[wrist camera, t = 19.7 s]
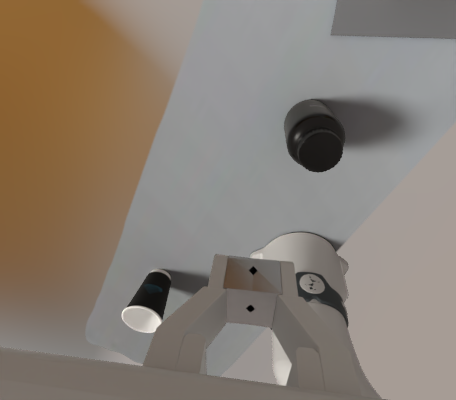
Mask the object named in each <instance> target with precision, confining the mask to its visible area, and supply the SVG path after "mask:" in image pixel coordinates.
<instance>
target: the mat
mask: <svg viewBox="0 0 456 400" xmlns="http://www.w3.org/2000/svg"><path fill="white" fill-rule="evenodd" d="M331 35H343V36H378V37H413V38H447V39H456V0H337V5H336V11H335V16H334V21H333V26H332V32H331Z"/></svg>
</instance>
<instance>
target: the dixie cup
mask: <svg viewBox="0 0 456 400" xmlns="http://www.w3.org/2000/svg"><path fill="white" fill-rule="evenodd" d="M170 285H171V276H170V275H169V273H168V272H166V271H164V270H162V269H155V270H152V271H151V273H149V274H148V276H147V277H146V279H145V280H144V282H143V283H142V285H141V286H140V288H139V290H138V291H137V293H136V294H135V296H134V297H133V299H132V300H131V302H130V303H129V305H128V306H127V308H125V309H124V310H123V312H122V319H123V321H124V322H125V323H126V324H127V325H128V326H129V327H131V328H132V329H134V330H137V331H140V332H145V333H152V332H155V331H156V328H157V327H158V326H159V325H160V324H161V323H163V322H162V319H163V314H164V310H165V306H166V302H167V297H168V293H169V289H170Z"/></svg>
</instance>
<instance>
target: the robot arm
mask: <svg viewBox="0 0 456 400" xmlns="http://www.w3.org/2000/svg"><path fill="white" fill-rule="evenodd" d="M347 270H348V263H347V262H346V261H345V260H344V259H342V258H341V257H340V256H338V255H337V253H336V251H335V250H334V248H333V246H332V245H331V244H330V243H329V242H328V241H326V240H325V239H323V238H322V237H320V236H317V235H314V234H310V233H301V232H298V233H290V234H286V235H282V236H280V237H278V238H276V239H274V240H273V241H271V242H270V243H269V244H268V245H267V246H266V247H264V248H263V249H260V250H257V251H255V252H253V253H252V254H251V255H250V258H245V257H237V256H226V255H219V254H216V255H215V257H214V260H213V265H212V269H211V274H210V278H209V282H208V287H205V286H204V287H202V288H201V289H200V290H199V291H198V292H197V293H196V294H194V295H193V296H192V297H191V298H190V299H189V300H188V301H186V302H185V303H184V304H183V305H182V306H181V307H180V308H179V309H177V310H176V311H175V312H174V313H173V314H172V315H171V316H169V317H168V318H167V319H166V320H165V321H164V322H163V323H161V324H160V325H159V326H158V327H157V328H156V331H155V334H154V336H153V339H152V342H151V344H150V347H149V350H148V352H147V355H146V358H145V360H144V363H143V366H137V365H130V364H123V363H116V362H109V361H101V360H94V359H87V358H79V357H72V356H65V355H57V354H50V353H43V352H36V351H28V350H22V349H14V348H7V347H0V400H386V399H382V398H381V397H380V396H379V394H378V393H377V392H376V391H375V390H374V388H373V387H372V385H371V384H370V383H369V381H368V379H367V378H366V376H365V374H364V372H363V370H362V368H361V366H360V363H359V361H358V358H357V356H356V353H355V350H354V347H353V344H352V341H351V338H350V335H349V332H348V318H347V311H346V307H345V306H344V302H345V300H346V298H348V290H347V286H346V281H345V277H344V275H345V273H346V272H347ZM226 322H228V323H239V324H249V325H256V326H263V327H270V328H271V330H272V356H273V372H274V376H275V378H276V381H277V383H278V385H276V384H269V383H262V382H254V381H247V380H240V379H232V378H225V377H218V376H211V375H207V367H206V349H207V347H208V346H209V345H210V344H211V342H212V341H213V340H214V338H215V337H216V336H217V335H218V333H219V332H220V331H221V330H222V328H223V327H224V326H225V324H226Z"/></svg>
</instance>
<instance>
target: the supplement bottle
mask: <svg viewBox="0 0 456 400" xmlns="http://www.w3.org/2000/svg"><path fill="white" fill-rule="evenodd" d="M284 130H285V137H286V143H287V148H288V152H289V154H290V156H291V157H292V158H293V160H294V161H296V162H297V163H298V164H300V165H302V166H303V167H305V168H306V169H308V170H309V171H313V172H323V171H327V170H330V169H331V168H333V167H334V166H335V165H336V164H337V163H338V162H339V161H340V158H341V157H342V154H343V147H344V143H345V131H344V128H343V126H342V124H341V123H340V121H339V120H338V119H337V118H336V116H335V115H334V114H333V113H332V111H331V110H330V109H329V108H328V107H327V106H326V105H325V104H324V103H322V102H320V101H317V100H305V101H302V102H299V103H297V104H296V105H295V106H293V107H292V108H291V109H290V111H289V112H288V114H287V116H286V118H285V123H284Z"/></svg>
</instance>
